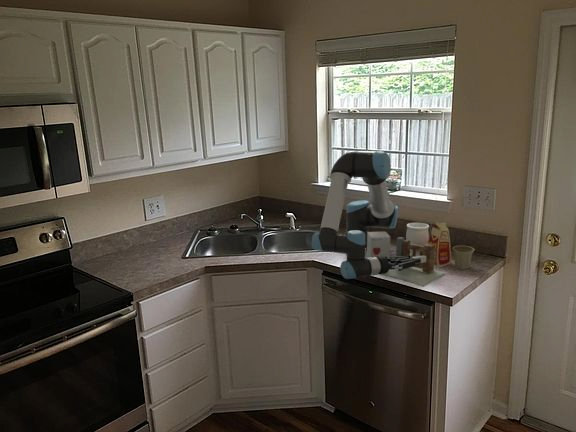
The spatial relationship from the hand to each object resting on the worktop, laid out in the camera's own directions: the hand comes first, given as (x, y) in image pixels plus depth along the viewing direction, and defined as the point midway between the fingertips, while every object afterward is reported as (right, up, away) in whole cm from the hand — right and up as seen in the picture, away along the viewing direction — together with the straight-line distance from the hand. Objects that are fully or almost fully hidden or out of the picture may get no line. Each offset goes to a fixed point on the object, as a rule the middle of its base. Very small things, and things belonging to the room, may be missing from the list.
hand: (425, 258), depth 207 cm
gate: (-1, -5, +7) cm, 8 cm away
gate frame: (-5, -7, +4) cm, 9 cm away
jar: (+4, -1, +29) cm, 29 cm away
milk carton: (+11, -4, +17) cm, 21 cm away
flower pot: (+20, -5, +11) cm, 23 cm away
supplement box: (-17, -5, +17) cm, 24 cm away
